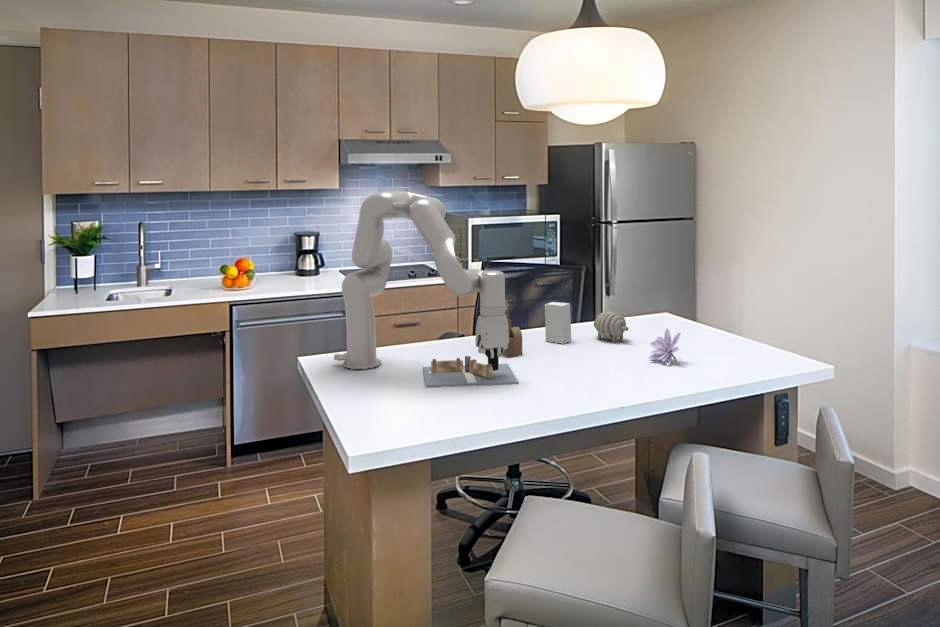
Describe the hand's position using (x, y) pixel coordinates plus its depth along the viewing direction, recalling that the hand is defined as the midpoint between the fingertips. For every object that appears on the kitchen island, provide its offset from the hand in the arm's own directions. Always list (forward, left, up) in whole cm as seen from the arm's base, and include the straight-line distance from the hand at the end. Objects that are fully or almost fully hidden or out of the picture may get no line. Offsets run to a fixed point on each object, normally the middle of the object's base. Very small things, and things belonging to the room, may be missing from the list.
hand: (493, 369), depth 223 cm
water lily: (+59, +12, -3) cm, 60 cm away
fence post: (-7, +7, -3) cm, 10 cm away
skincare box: (+31, +47, -3) cm, 56 cm away
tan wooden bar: (-4, +1, -2) cm, 4 cm away
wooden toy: (+9, +34, -3) cm, 35 cm away
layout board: (-7, +4, -3) cm, 9 cm away
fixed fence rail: (-14, +6, -2) cm, 15 cm away
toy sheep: (+51, +46, -3) cm, 68 cm away
